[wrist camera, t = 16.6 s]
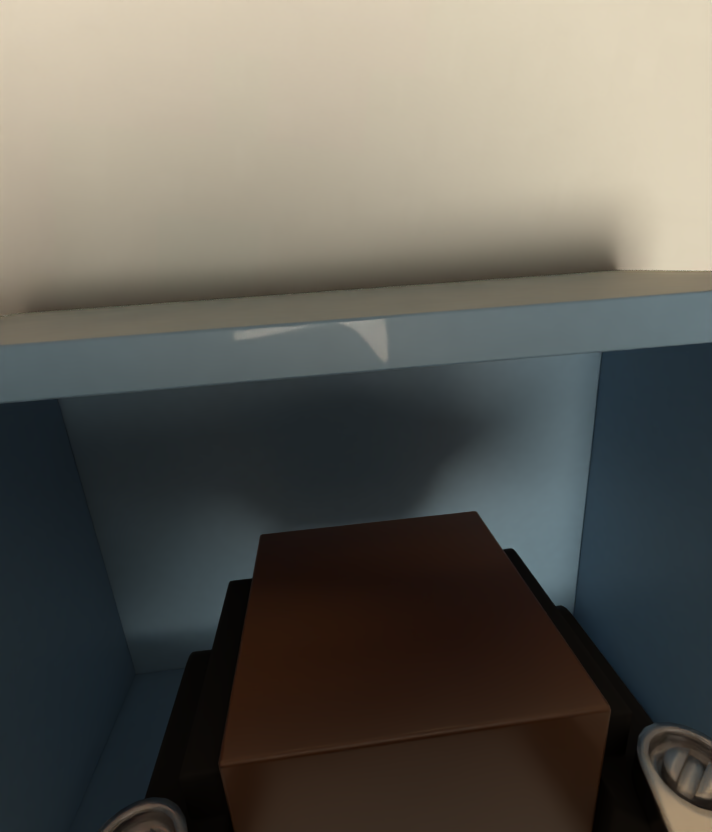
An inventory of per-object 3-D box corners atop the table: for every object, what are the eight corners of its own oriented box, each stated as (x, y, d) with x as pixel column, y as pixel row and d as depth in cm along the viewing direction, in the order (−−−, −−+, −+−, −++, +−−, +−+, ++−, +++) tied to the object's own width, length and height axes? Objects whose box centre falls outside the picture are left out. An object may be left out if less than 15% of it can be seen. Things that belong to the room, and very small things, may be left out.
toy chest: (618, 269, 14) (944, 272, 7) (578, 615, 19) (755, 842, 11) (20, 312, 13) (-355, 371, 6) (127, 674, 17) (-8, 976, 10)
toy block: (284, 700, 11) (268, 992, 6) (259, 533, 9) (216, 766, 5) (473, 673, 11) (577, 935, 7) (476, 509, 10) (614, 708, 5)
